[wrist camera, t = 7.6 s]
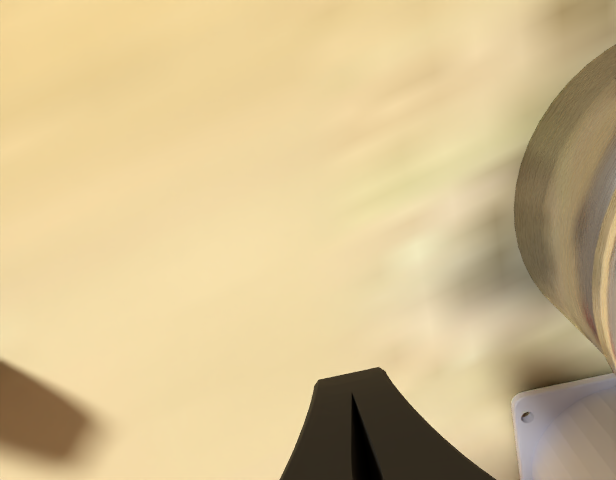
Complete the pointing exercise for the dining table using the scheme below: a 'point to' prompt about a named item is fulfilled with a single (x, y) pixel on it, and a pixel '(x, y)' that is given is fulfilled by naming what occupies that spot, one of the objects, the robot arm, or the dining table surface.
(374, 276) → the dining table surface
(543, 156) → the cooker pot
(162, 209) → the dining table surface
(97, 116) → the dining table surface
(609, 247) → the cooker lid
